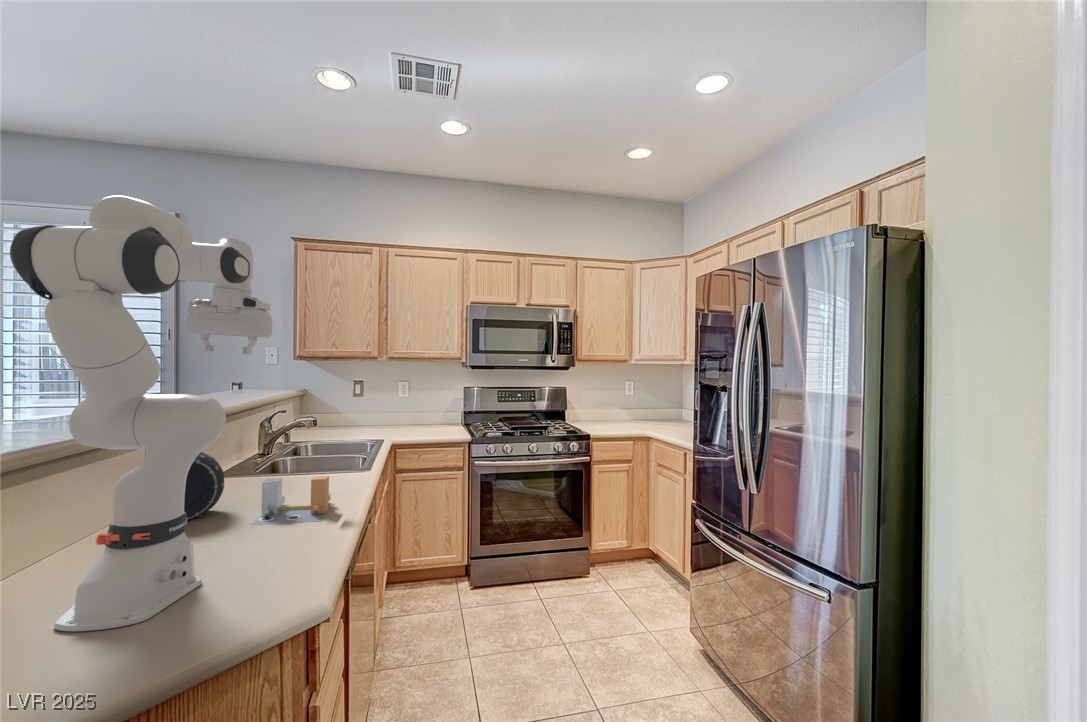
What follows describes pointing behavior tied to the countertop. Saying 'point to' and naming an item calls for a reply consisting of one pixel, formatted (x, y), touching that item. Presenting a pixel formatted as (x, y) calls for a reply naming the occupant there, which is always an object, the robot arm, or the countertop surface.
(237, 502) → the countertop surface
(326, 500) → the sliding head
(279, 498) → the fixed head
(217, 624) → the countertop surface
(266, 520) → the board
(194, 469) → the dark rounded piece
